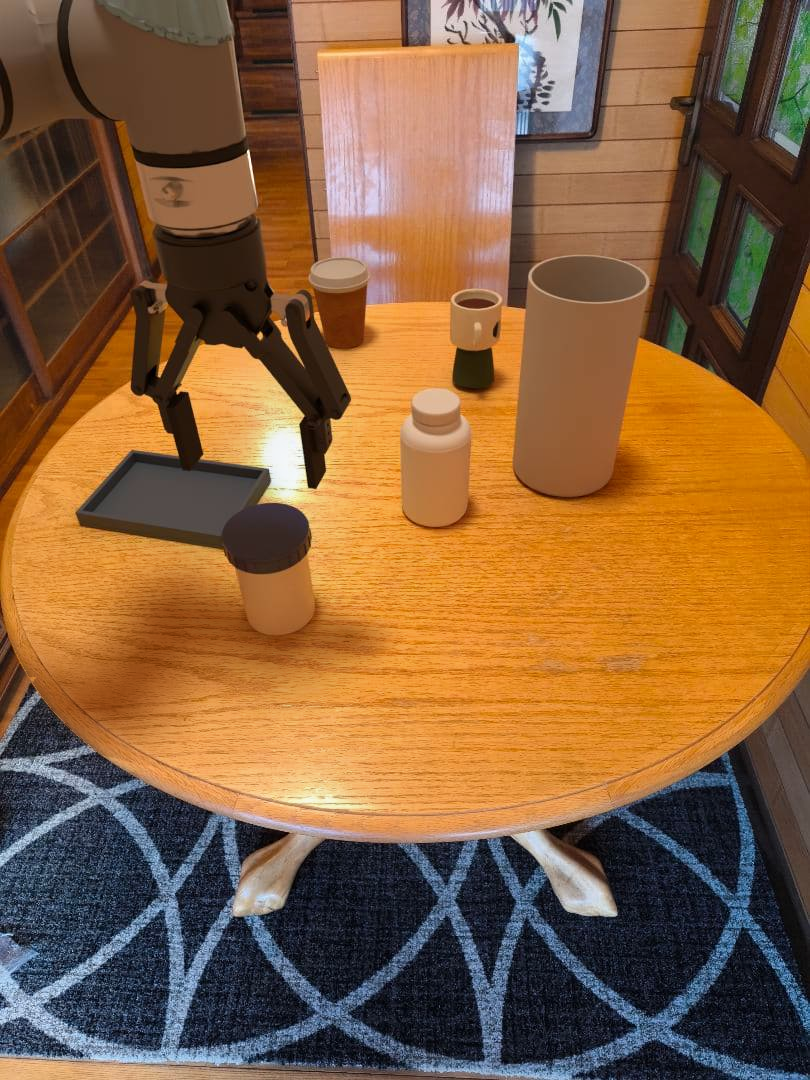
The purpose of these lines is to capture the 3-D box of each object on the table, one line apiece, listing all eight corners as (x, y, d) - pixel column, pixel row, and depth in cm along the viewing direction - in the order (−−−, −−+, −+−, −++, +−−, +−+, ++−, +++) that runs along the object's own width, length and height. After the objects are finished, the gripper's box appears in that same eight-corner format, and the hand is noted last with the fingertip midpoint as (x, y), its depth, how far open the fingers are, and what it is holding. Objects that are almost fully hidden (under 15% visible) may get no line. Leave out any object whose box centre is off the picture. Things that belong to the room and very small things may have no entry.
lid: (209, 567, 72) (205, 552, 70) (245, 511, 78) (242, 497, 76) (293, 581, 70) (291, 566, 69) (323, 523, 76) (321, 508, 75)
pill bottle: (447, 537, 88) (449, 427, 78) (389, 515, 91) (383, 406, 81) (480, 500, 93) (485, 392, 83) (423, 480, 96) (422, 374, 86)
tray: (79, 525, 91) (74, 512, 90) (135, 461, 101) (131, 449, 99) (227, 549, 87) (224, 536, 86) (271, 481, 97) (269, 468, 95)
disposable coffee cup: (325, 358, 120) (317, 284, 112) (308, 332, 127) (300, 261, 119) (381, 346, 123) (378, 273, 115) (362, 322, 129) (358, 251, 121)
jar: (235, 629, 78) (215, 552, 71) (262, 580, 83) (246, 505, 76) (301, 641, 77) (288, 564, 70) (324, 591, 82) (314, 515, 75)
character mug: (500, 401, 109) (506, 315, 101) (450, 402, 110) (452, 317, 101) (493, 363, 118) (498, 281, 109) (447, 364, 118) (449, 282, 109)
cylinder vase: (566, 431, 103) (591, 246, 87) (633, 477, 95) (675, 283, 79) (492, 462, 98) (504, 272, 82) (556, 513, 90) (584, 314, 74)
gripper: (26, 226, 53) (113, 478, 68) (349, 250, 48) (369, 515, 63) (85, 191, 58) (155, 431, 73) (381, 210, 54) (392, 463, 68)
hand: (254, 470), depth 68 cm, fingers open, 11 cm apart
